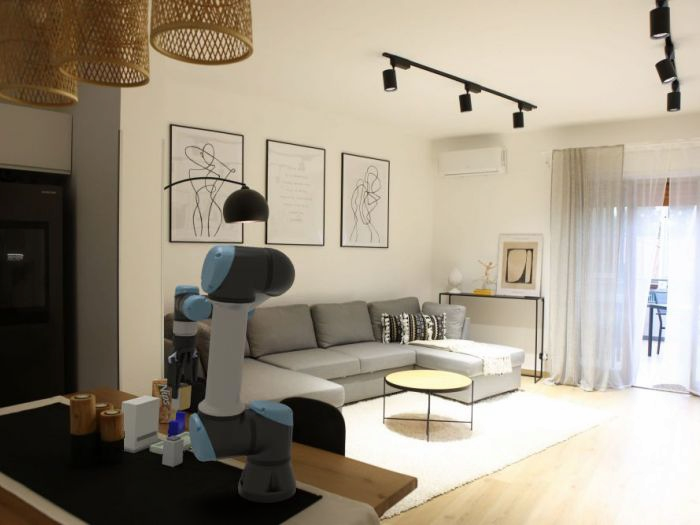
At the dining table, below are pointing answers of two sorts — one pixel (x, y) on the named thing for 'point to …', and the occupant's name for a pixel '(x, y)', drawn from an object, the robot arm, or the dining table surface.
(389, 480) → the dining table surface
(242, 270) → the robot arm
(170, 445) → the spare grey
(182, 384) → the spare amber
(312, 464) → the dining table surface
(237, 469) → the dining table surface
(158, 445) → the tray
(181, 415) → the cable clip
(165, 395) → the candy box
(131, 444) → the block
